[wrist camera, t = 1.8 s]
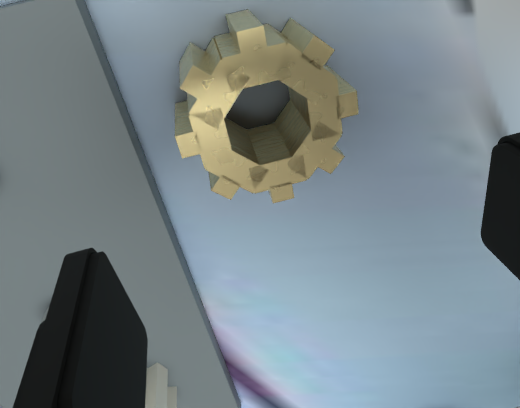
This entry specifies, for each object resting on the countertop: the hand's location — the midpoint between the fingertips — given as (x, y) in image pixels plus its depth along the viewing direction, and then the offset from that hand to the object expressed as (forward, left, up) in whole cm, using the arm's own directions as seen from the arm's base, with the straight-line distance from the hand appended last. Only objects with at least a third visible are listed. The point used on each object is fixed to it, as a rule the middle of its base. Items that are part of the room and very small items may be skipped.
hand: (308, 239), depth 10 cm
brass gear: (0, 0, -12) cm, 12 cm away
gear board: (+13, +9, -12) cm, 20 cm away
